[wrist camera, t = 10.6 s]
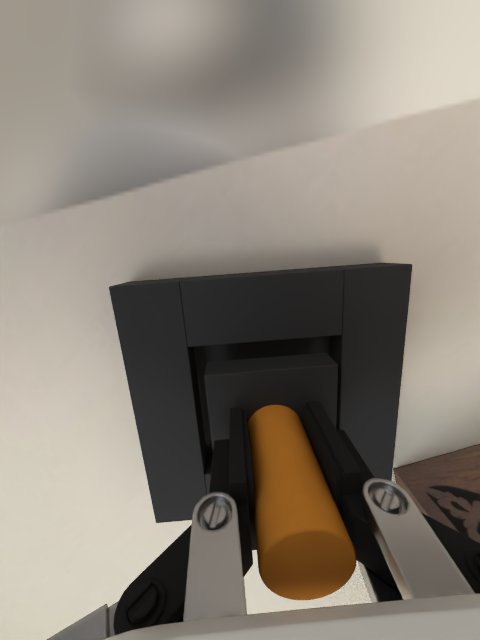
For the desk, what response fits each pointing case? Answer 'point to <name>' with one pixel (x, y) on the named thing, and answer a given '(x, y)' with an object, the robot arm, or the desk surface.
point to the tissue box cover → (447, 489)
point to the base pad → (257, 342)
